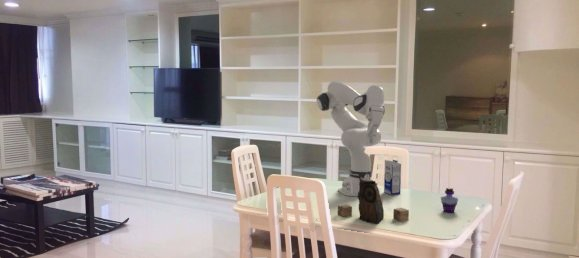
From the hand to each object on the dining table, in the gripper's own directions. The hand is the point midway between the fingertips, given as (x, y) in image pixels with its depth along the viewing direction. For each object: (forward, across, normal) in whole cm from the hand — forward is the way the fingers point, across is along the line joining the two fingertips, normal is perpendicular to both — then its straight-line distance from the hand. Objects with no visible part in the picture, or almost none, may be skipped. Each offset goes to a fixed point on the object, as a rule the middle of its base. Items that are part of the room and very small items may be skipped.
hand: (372, 139), depth 232 cm
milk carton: (+12, -50, +22) cm, 56 cm away
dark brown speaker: (+40, -3, +3) cm, 40 cm away
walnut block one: (+39, -9, -10) cm, 41 cm away
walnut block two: (+38, -3, +16) cm, 42 cm away
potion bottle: (+28, -15, +43) cm, 54 cm away
